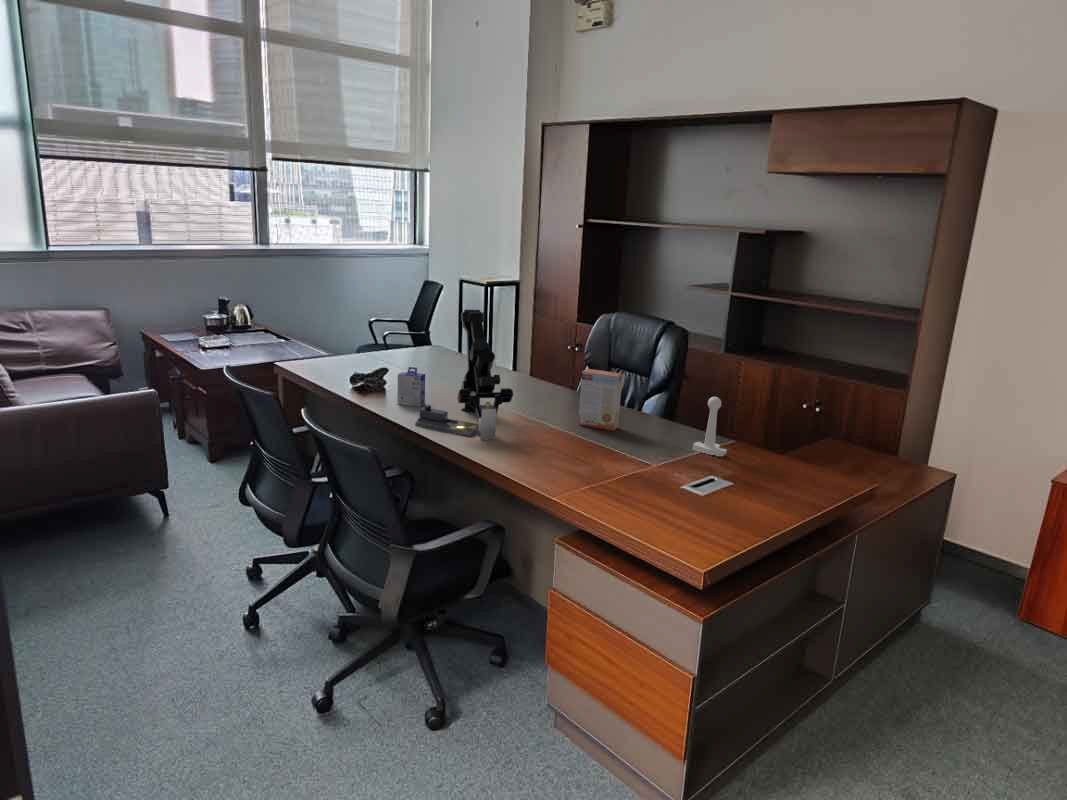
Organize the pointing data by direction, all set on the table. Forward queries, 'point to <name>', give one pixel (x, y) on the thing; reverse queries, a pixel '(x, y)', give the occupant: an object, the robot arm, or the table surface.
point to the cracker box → (600, 399)
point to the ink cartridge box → (411, 388)
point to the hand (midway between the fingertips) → (487, 417)
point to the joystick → (711, 431)
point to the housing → (487, 422)
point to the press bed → (450, 426)
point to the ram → (433, 414)
